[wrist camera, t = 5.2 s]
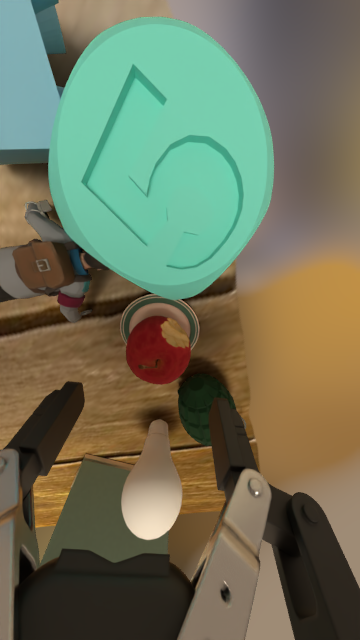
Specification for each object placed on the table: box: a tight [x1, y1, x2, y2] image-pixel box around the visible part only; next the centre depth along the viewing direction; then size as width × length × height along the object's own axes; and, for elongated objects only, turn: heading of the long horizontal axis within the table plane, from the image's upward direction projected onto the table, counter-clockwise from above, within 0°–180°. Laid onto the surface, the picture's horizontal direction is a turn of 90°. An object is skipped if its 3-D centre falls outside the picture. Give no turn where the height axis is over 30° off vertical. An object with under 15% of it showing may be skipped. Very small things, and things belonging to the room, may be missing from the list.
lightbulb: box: [121, 419, 182, 540], centre depth 21 cm, size 6×6×11 cm
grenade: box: [178, 373, 246, 446], centre depth 21 cm, size 6×7×12 cm
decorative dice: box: [48, 17, 274, 300], centre depth 10 cm, size 8×8×8 cm
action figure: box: [0, 200, 110, 323], centre depth 14 cm, size 9×7×15 cm
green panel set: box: [40, 454, 168, 566], centre depth 26 cm, size 15×12×16 cm
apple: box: [120, 294, 199, 385], centre depth 16 cm, size 8×8×6 cm
